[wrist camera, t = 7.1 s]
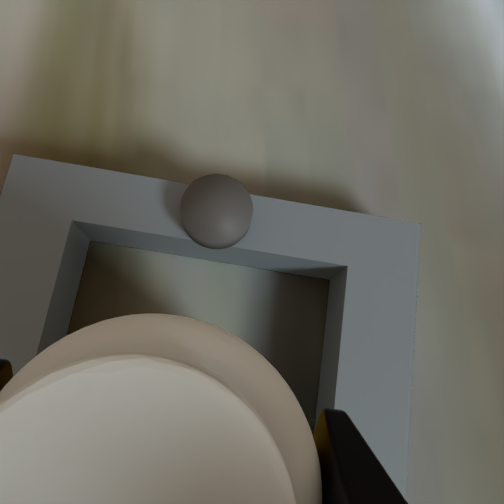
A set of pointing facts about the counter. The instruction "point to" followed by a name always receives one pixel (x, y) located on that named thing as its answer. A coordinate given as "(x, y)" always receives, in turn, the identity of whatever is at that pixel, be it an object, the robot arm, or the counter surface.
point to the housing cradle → (228, 251)
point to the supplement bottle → (154, 421)
